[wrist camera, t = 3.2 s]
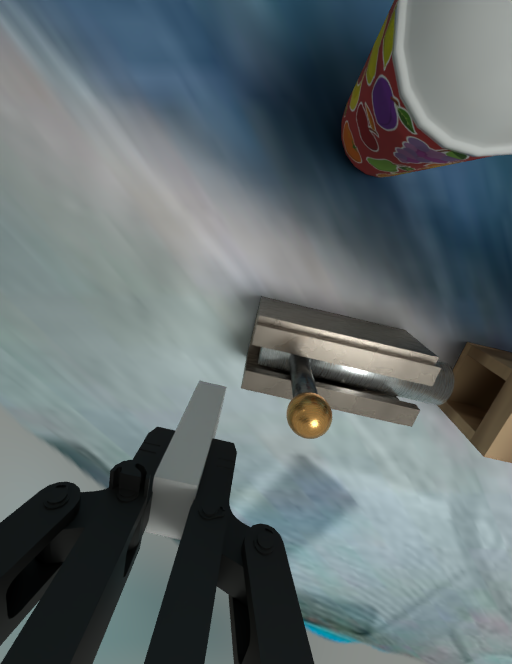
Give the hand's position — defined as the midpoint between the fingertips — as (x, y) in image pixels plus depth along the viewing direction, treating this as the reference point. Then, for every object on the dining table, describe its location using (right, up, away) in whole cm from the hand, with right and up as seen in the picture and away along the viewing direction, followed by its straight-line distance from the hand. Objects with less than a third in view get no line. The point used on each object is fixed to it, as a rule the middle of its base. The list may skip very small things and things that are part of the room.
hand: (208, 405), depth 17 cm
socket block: (+25, -1, +13) cm, 28 cm away
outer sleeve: (+9, +3, +13) cm, 16 cm away
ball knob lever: (+11, +2, +12) cm, 16 cm away
